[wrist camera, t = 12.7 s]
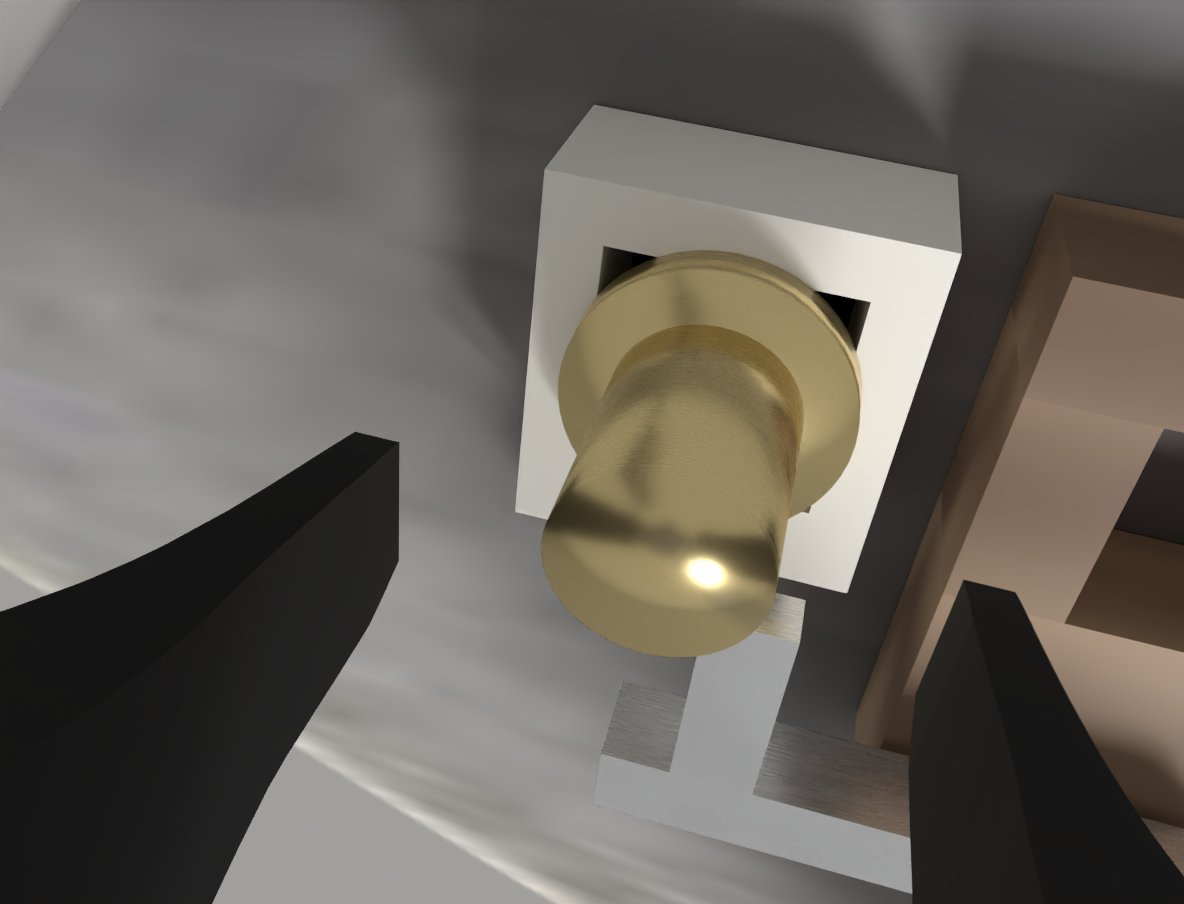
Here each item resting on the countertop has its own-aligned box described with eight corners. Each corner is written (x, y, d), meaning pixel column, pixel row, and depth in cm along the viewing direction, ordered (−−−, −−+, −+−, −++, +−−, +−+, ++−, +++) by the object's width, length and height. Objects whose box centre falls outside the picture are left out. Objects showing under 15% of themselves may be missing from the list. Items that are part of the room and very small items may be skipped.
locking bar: (1182, 884, 21) (1201, 975, 19) (613, 731, 22) (592, 804, 21) (1325, 694, 18) (1360, 785, 16) (650, 529, 19) (628, 599, 18)
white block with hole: (855, 491, 22) (846, 593, 19) (559, 421, 22) (514, 512, 20) (957, 175, 18) (961, 253, 15) (593, 104, 18) (544, 169, 16)
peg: (835, 446, 20) (799, 735, 15) (594, 393, 21) (475, 651, 16) (900, 215, 18) (887, 464, 12) (621, 163, 18) (489, 376, 13)
